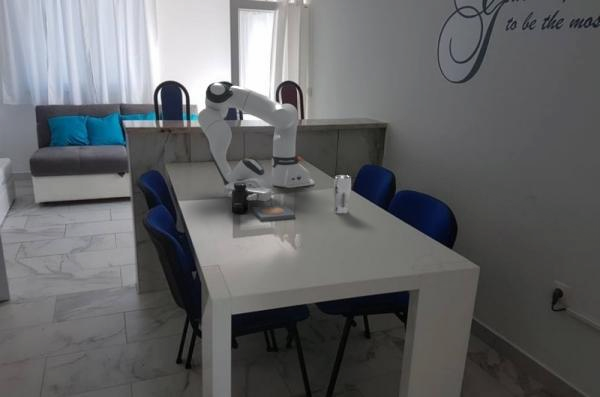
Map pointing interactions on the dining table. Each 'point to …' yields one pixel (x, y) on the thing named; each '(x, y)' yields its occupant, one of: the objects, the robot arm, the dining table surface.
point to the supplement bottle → (239, 199)
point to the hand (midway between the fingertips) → (239, 197)
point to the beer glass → (342, 193)
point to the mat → (273, 212)
